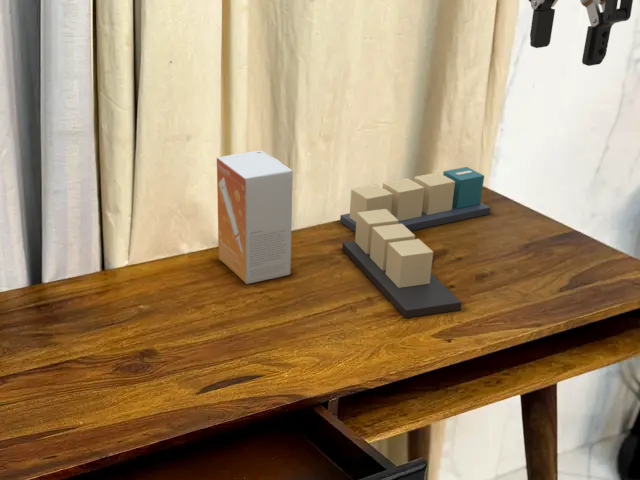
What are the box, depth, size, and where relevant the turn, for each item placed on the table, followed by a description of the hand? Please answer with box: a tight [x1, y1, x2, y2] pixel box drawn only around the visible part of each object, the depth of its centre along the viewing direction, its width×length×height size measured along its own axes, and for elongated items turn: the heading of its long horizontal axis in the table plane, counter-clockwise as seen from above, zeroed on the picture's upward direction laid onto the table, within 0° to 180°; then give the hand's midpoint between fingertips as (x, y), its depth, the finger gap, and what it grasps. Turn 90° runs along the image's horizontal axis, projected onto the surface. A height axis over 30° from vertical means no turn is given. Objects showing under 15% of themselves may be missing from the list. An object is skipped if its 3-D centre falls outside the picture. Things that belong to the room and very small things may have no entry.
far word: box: [339, 172, 491, 233], centre depth 134 cm, size 20×7×5 cm, turn 117°
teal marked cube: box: [442, 166, 485, 209], centre depth 136 cm, size 4×4×4 cm
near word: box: [341, 209, 463, 319], centre depth 119 cm, size 20×7×5 cm, turn 17°
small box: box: [216, 149, 294, 285], centre depth 119 cm, size 8×6×13 cm
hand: (565, 55), depth 106 cm, fingers open, 8 cm apart
